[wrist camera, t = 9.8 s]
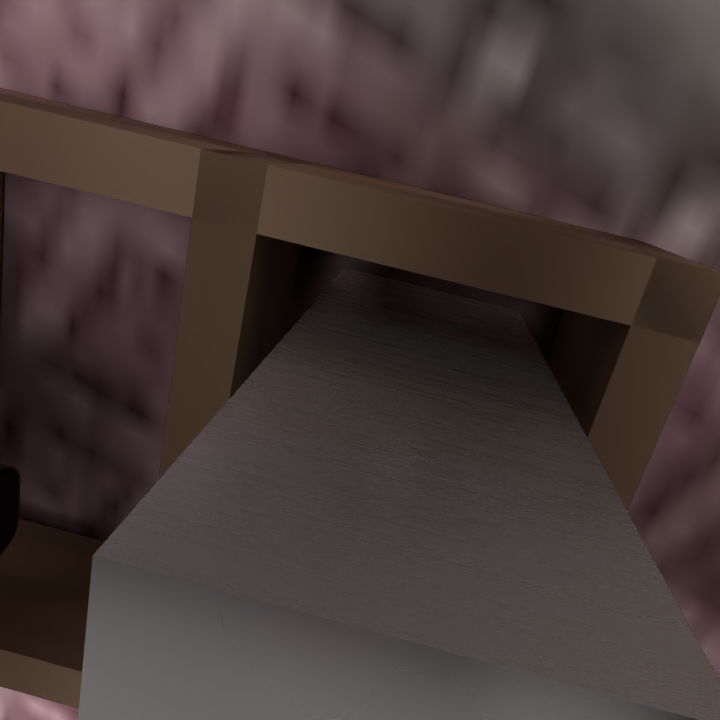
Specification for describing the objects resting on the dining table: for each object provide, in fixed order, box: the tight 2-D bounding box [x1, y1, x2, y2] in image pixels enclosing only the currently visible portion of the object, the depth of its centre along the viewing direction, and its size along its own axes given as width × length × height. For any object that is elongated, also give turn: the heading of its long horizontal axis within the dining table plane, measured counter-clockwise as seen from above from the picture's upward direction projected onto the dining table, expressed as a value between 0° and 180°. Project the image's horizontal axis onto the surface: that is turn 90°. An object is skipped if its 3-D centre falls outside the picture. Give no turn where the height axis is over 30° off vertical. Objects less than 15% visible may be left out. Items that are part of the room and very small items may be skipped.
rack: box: [0, 88, 720, 708], centre depth 10 cm, size 17×10×3 cm, turn 77°
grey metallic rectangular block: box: [78, 268, 720, 720], centre depth 7 cm, size 3×6×8 cm, turn 167°
